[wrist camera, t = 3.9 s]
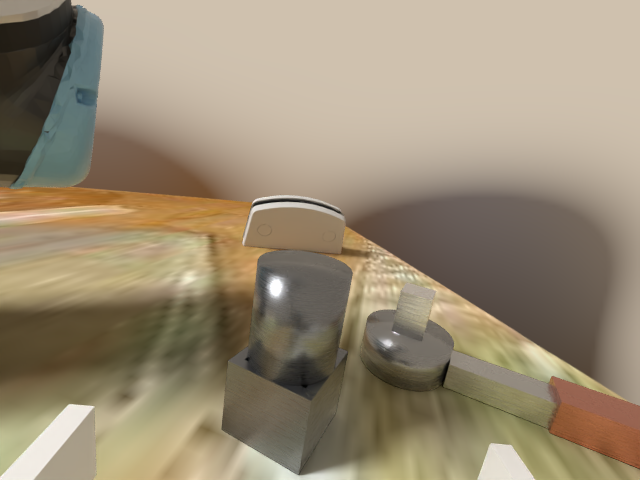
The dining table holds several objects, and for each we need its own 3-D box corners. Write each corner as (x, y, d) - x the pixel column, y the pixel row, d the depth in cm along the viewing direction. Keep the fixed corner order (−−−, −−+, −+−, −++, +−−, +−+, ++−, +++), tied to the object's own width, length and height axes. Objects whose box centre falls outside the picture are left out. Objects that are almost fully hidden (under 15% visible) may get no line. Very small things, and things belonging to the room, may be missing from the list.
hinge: (334, 245, 61) (349, 198, 55) (339, 261, 57) (355, 212, 51) (242, 237, 57) (247, 185, 51) (241, 254, 53) (246, 199, 47)
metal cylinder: (221, 429, 18) (237, 263, 16) (270, 380, 23) (289, 244, 20) (298, 475, 17) (329, 294, 14) (336, 412, 21) (364, 266, 19)
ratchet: (348, 366, 26) (363, 291, 24) (373, 330, 32) (386, 268, 30) (681, 506, 18) (735, 409, 17) (628, 422, 24) (665, 346, 23)
